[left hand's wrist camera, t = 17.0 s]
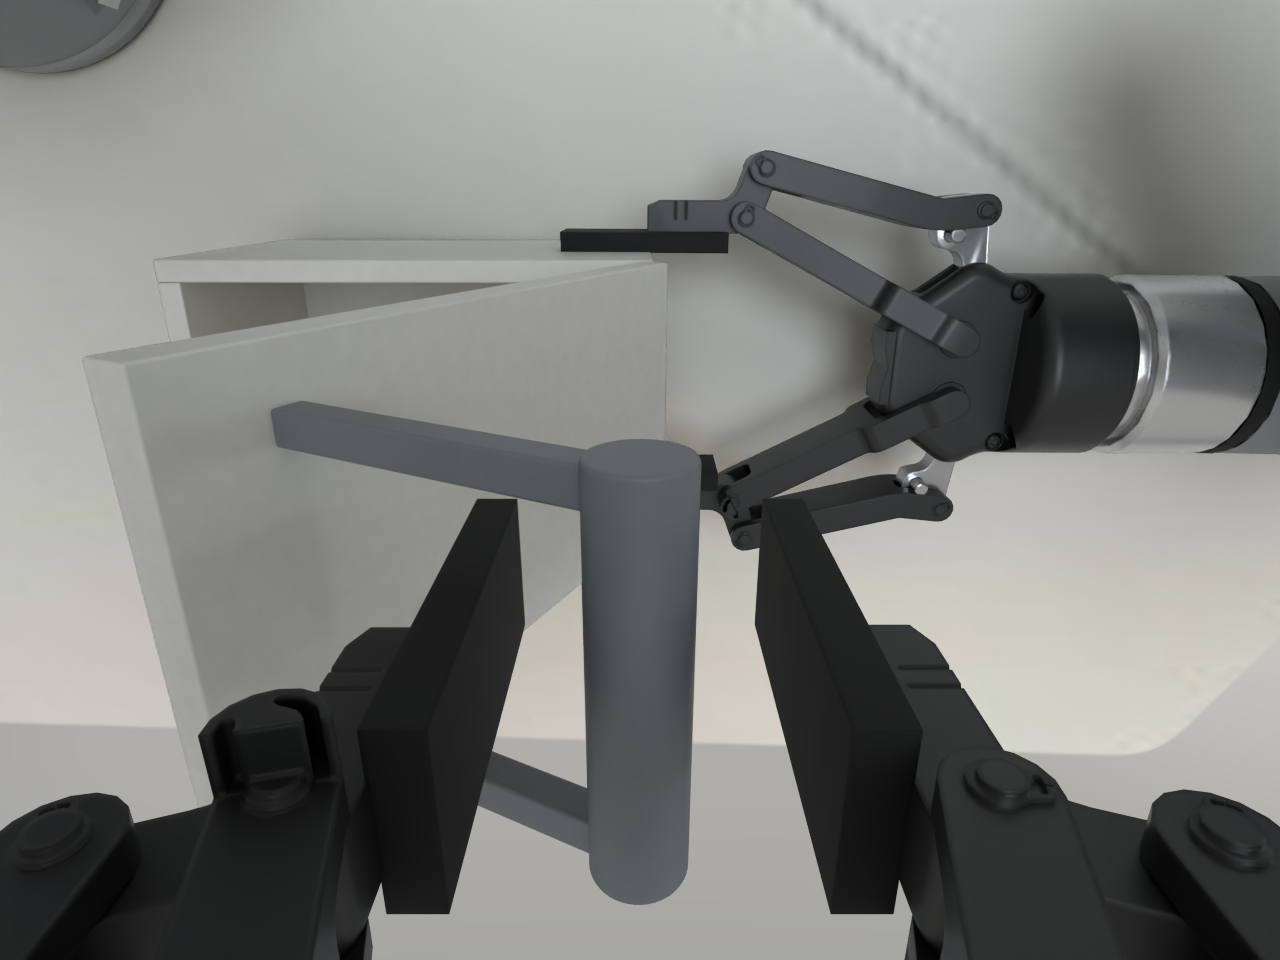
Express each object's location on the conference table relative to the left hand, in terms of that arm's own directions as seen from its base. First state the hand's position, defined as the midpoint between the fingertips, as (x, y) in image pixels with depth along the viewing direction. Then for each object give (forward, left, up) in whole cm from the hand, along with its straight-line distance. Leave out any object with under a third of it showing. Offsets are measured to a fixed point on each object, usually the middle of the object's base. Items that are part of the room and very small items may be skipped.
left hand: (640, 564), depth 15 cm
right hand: (-3, 0, -19) cm, 19 cm away
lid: (-4, +1, -6) cm, 7 cm away
